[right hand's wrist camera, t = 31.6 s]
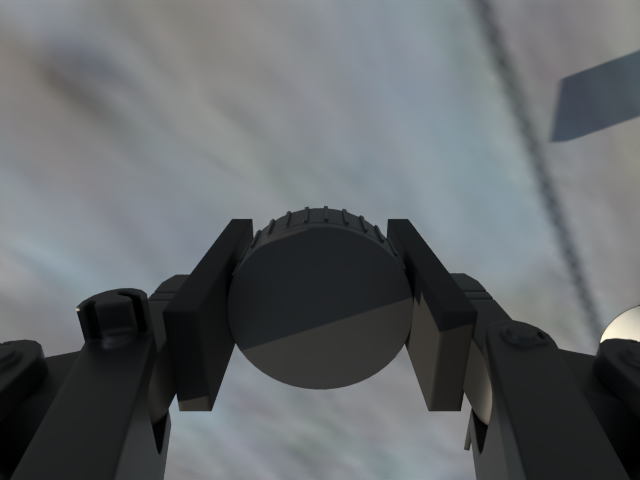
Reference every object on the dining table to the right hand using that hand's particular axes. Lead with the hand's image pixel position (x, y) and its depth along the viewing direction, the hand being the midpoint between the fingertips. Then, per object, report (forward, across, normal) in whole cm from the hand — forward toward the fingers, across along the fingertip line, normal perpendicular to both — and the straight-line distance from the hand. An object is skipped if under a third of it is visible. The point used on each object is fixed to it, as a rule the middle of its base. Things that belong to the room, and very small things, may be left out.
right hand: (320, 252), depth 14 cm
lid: (-4, 0, 0) cm, 4 cm away
